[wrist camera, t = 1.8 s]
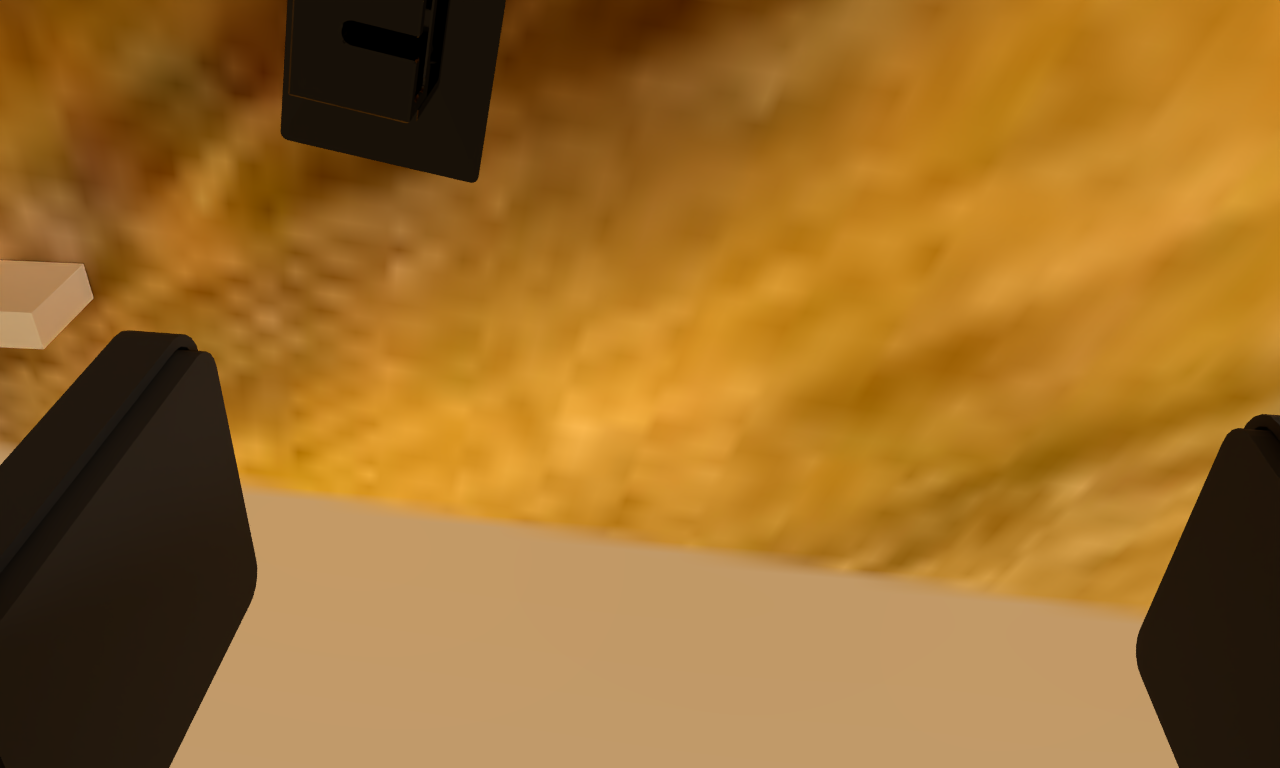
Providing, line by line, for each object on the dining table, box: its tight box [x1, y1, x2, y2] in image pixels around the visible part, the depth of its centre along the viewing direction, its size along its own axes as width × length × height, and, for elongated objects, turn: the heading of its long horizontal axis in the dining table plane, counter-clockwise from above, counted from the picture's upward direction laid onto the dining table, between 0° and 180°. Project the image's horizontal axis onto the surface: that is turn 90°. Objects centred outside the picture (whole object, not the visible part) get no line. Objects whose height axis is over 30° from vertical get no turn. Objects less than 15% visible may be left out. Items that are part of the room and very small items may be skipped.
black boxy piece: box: [281, 0, 506, 183], centre depth 26 cm, size 12×7×5 cm, turn 167°
